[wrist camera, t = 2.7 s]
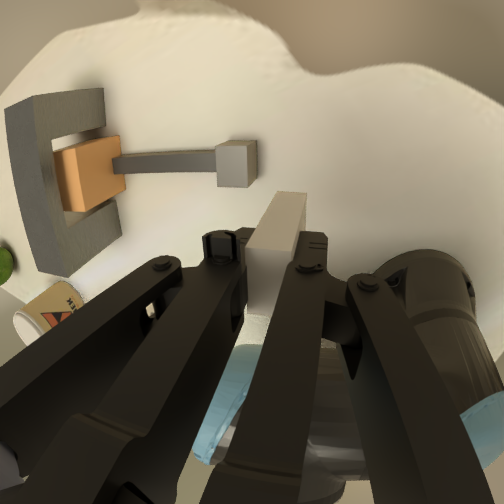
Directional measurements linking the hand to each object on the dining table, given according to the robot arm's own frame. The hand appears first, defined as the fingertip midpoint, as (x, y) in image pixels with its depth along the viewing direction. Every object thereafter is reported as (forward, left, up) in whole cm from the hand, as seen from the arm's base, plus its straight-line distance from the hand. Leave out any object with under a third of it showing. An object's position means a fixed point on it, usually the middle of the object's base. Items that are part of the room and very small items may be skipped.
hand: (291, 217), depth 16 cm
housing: (+27, 0, -16) cm, 32 cm away
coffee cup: (+41, +24, -16) cm, 51 cm away
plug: (+16, 0, -16) cm, 23 cm away
